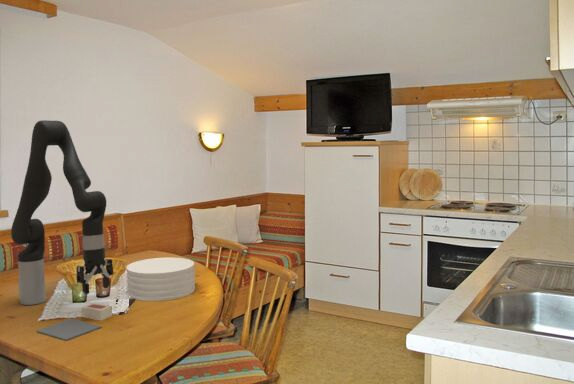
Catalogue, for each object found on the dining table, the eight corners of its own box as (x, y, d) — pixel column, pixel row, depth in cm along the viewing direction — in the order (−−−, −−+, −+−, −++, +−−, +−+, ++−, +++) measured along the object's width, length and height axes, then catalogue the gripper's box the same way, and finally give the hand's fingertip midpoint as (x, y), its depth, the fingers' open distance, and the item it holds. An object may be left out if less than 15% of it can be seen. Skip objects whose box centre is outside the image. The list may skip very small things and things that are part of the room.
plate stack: (116, 290, 230) (115, 264, 229) (174, 278, 249) (173, 254, 247) (146, 305, 209) (145, 277, 208) (207, 291, 228) (206, 265, 227)
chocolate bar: (135, 298, 216) (122, 313, 198) (135, 301, 216) (122, 316, 198) (113, 299, 216) (97, 313, 198) (113, 301, 216) (97, 316, 198)
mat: (36, 331, 182) (36, 330, 182) (71, 319, 193) (71, 318, 193) (66, 340, 173) (66, 339, 173) (101, 327, 185) (101, 326, 185)
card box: (82, 317, 196) (81, 307, 196) (93, 313, 201) (93, 302, 201) (100, 321, 192) (100, 310, 192) (112, 316, 197) (111, 305, 197)
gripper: (102, 242, 202) (105, 284, 204) (70, 249, 190) (72, 294, 192) (116, 244, 198) (118, 287, 200) (83, 251, 186) (86, 297, 188)
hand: (96, 290), depth 196 cm, fingers open, 8 cm apart
